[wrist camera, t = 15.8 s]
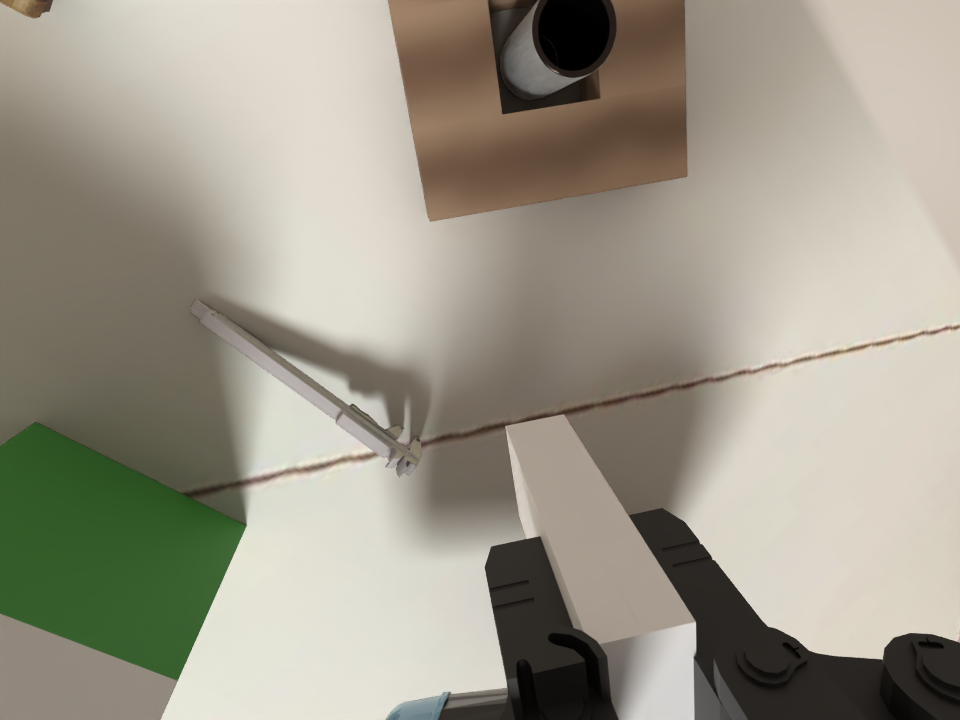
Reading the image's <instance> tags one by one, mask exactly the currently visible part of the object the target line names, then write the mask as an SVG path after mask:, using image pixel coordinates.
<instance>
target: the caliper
mask: <svg viewBox="0 0 960 720" xmlns="http://www.w3.org/2000/svg"><path fill="white" fill-rule="evenodd" d="M189 310H190V311H191V313H192V314H194V315H195V316H196V317H198V318H199V319H200V320H201V321H200V323H201V324H202V325H204V326H205V327H206V328H208V329H209V330H211V331H212V332H213V333H215V334H216V335H218V336H219V337H220V338H222V339H223V340H224V341H226V342H227V343H229V344H230V345H231V346H233V347H234V348H236V349H237V350H238V351H240V352H241V353H242V354H244V355H245V356H247V357H248V358H249V359H251V360H252V361H254V362H255V363H256V364H258V365H259V366H261V367H262V368H263V369H265V370H266V371H268V372H269V373H270V374H272V375H273V376H274V377H276V378H277V379H279V380H280V381H281V382H283V383H284V384H286V385H287V386H288V387H290V388H291V389H293V390H294V391H295V392H297V393H298V394H300V395H301V396H302V397H304V398H305V399H306V400H308V401H309V402H311V403H312V404H313V405H315V406H316V407H318V408H319V409H320V410H322V411H323V412H325V413H326V414H327V415H329V416H330V417H332V418H333V419H334V420H336V424H337V425H338V426H340V427H341V428H343V429H344V430H345V431H347V432H348V433H349V434H351V435H352V436H353V437H355V438H356V439H358V440H359V441H360V442H362V443H363V444H364V445H366V446H367V447H369V448H370V449H371V450H373V451H374V452H375V453H377V454H378V455H380V456H381V457H383V458H385V457H387V458H388V460H389V462H388V463H387V465H386V468H392V467H394V466H395V465H397V467H396V471H397V475H398V476H399V478H400V476H401V475H402V474H403V473H406V474H407V475H410V473H411V472H412V471H413V470H414V469H415V467H416V466H417V464H418V463H419V461H420V459H421V457H422V456H421V441H420V439H419V438H418V437H417V436H416V437H415V438H414V440H413V441H412V442H411V443H410V444H409V446H408V448H406V447H405V446H403V445H402V444H401V443H399V442H398V441H397V439H398V438H399V437H400V435H401V434H402V432H403V431H402V430H403V429H404V428H402V427H401V426H399V425H397V426H394V427H391V428H388V429H383V428H382V427H380V426H379V425H378V424H377V423H376V422H375V421H374V420H373V419H372V418H371V417H370V416H369V415H368V414H366V413H364V412H362V411H361V410H360V409H359V408H358V407H357V406H355V405H354V404H351V405H350V406H349V405H347V404H346V403H344V402H343V401H342V400H340V399H339V398H337V397H336V396H335V395H333V394H332V393H331V392H329V391H328V390H326V389H325V388H324V387H322V386H321V385H320V384H318V383H317V382H315V381H314V380H313V379H311V378H310V377H308V376H307V375H306V374H304V373H303V372H302V371H300V370H299V369H297V368H296V367H295V366H293V365H292V364H291V363H289V362H288V361H286V360H285V359H284V358H282V357H281V356H280V355H278V354H277V353H275V352H274V351H273V350H271V349H270V348H269V347H267V346H266V345H265V344H263V343H262V342H260V341H259V340H258V339H256V338H255V337H254V336H252V335H251V334H249V333H248V332H247V331H245V330H244V329H243V328H241V327H240V326H239V325H237V324H236V323H234V322H233V321H231V320H230V319H228V318H227V317H225V316H223V315H222V314H220V313H219V312H217V311H215V310H212V309H210V308H209V307H208V306H206V305H205V304H204V303H202V302H201V301H199V300H198V299H196V300H195V301H194V303H193V305H192V306H191V308H190V309H189Z"/></svg>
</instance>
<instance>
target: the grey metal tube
mask: <svg viewBox="0 0 960 720" xmlns="http://www.w3.org/2000/svg"><path fill="white" fill-rule="evenodd" d="M616 34H617V18H616V13H615V9H614V6H613V4H612V1H611V0H538V1H537V2H536V4H535V5H534V6H533V7H532V9H531V10H530V11H529V12H528V14H527V15H526V16H525V17H524V19H523V20H522V21H521V22H520V24H519V25H518V26H517V27H516V29H515V30H514V31H513V33H512V34H511V35H510V36H509V38H508V39H507V41H506V43H505V44H504V47H503V49H502V52H501V56H500V71H501V75H502V78H503V81H504V83H505V84H506V86H507V87H508V89H509V90H510V91H511V92H512V93H514V94H515V95H516V96H518V97H520V98H523V99H528V100H535V99H540V98H543V97H545V96H548V95H550V94H552V93H554V92H556V91H558V90H560V89H562V88H564V87H566V86H568V85H570V84H572V83H574V82H576V81H578V80H580V79H582V78H584V77H586V76H588V75H590V74H591V73H593V72H594V71H596V70H597V69H598V68H600V67H601V66H602V65H603V63H604V62H605V61H606V60H607V58H608V57H609V55H610V53H611V51H612V49H613V46H614V43H615V39H616Z"/></svg>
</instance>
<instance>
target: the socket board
mask: <svg viewBox="0 0 960 720" xmlns="http://www.w3.org/2000/svg"><path fill="white" fill-rule="evenodd" d="M537 1H538V0H388V4H389V9H390V14H391V20H392V25H393V31H394V36H395V41H396V47H397V52H398V58H399V63H400V68H401V74H402V79H403V85H404V90H405V96H406V101H407V106H408V112H409V117H410V123H411V128H412V133H413V139H414V144H415V150H416V155H417V160H418V166H419V171H420V177H421V182H422V187H423V193H424V198H425V204H426V209H427V214H428V218H429V220H430V222H431V221H436V220H442V219H448V218H454V217H459V216H465V215H471V214H476V213H482V212H488V211H494V210H499V209H505V208H511V207H517V206H522V205H528V204H534V203H540V202H545V201H551V200H557V199H563V198H568V197H574V196H580V195H586V194H591V193H597V192H603V191H609V190H614V189H620V188H626V187H631V186H637V185H643V184H649V183H654V182H660V181H666V180H672V179H677V178H683V177H687V131H686V69H685V7H684V0H611V1H612V4H613V6H614V9H615V13H616V18H617V34H616V39H615V43H614V46H613V49H612V51H611V53H610V55H609V57H608V58H607V60H606V61H605V62H604V63H603V65H602V66H601V67H600V68H598V69H597V70H596V71H594V72H593V73H591V74H590V75H588V76H586V77H584V78H582V79H580V89H581V102H577V103H571V104H564V105H558V106H552V107H546V108H540V109H534V110H527V111H521V112H515V113H509V114H503V115H502V109H501V101H500V93H499V86H498V78H497V70H496V62H495V55H494V47H493V39H492V31H491V23H490V16H489V12H494V11H500V10H507V9H514V8H520V7H527V6H534V5H535V4H536V2H537Z"/></svg>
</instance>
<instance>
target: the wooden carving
mask: <svg viewBox="0 0 960 720" xmlns="http://www.w3.org/2000/svg"><path fill="white" fill-rule="evenodd" d="M52 1H53V0H0V2H1V3H3V4H4V5H7V6H9V7H11V8H13V9H14V10H16V11H18V12H20V13H22V14H24V15H26V16H28V17H31V18H38V17H40V16H41V14H42V13H44V12H49V11H50V8H51V5H52Z"/></svg>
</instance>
